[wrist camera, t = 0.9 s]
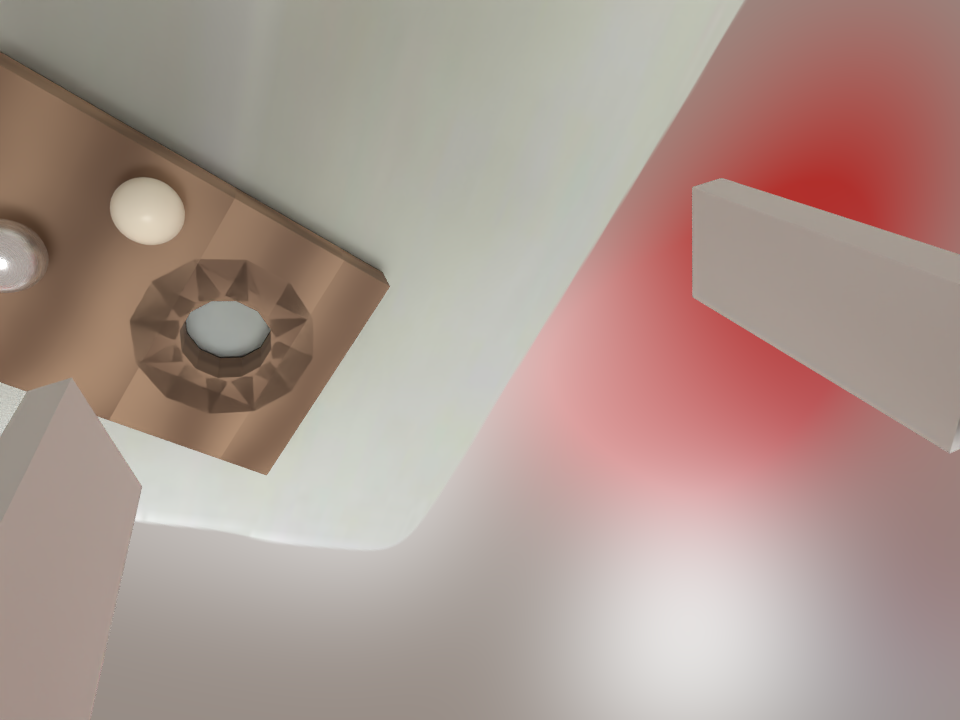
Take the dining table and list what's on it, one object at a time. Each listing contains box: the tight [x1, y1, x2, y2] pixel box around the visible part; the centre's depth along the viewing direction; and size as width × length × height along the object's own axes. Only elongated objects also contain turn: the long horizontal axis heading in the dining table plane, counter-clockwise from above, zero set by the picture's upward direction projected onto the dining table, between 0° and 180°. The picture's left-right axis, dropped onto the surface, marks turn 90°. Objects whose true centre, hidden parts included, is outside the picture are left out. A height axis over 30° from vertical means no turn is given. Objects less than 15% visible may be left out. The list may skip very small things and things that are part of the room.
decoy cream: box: [110, 177, 185, 245], centre depth 28 cm, size 3×3×3 cm
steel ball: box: [0, 219, 49, 293], centre depth 27 cm, size 3×3×3 cm
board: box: [0, 52, 390, 475], centre depth 32 cm, size 20×14×2 cm
